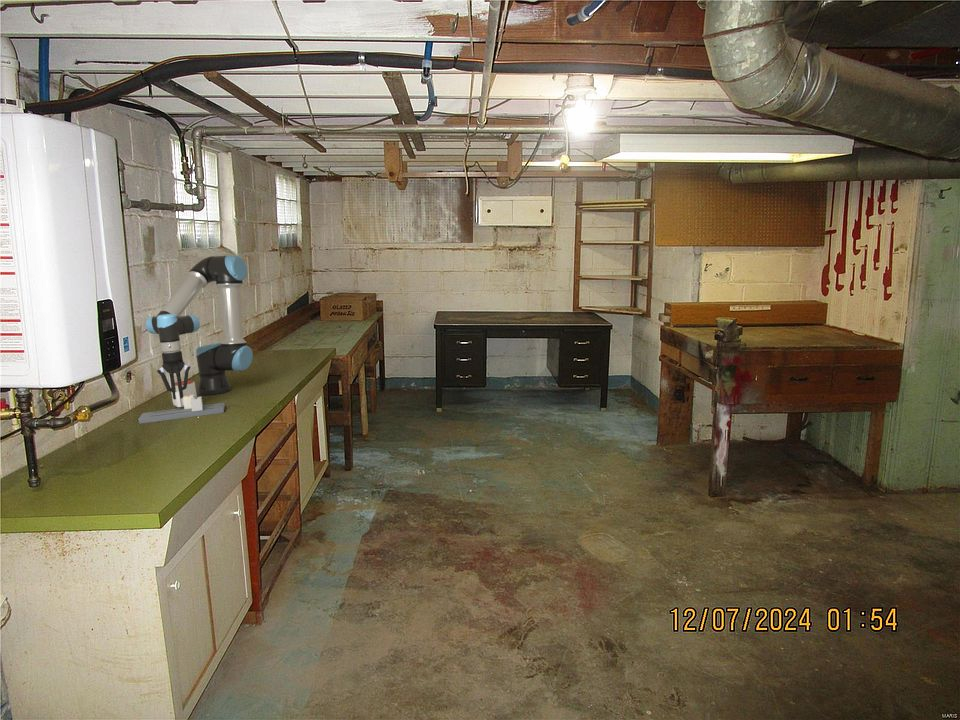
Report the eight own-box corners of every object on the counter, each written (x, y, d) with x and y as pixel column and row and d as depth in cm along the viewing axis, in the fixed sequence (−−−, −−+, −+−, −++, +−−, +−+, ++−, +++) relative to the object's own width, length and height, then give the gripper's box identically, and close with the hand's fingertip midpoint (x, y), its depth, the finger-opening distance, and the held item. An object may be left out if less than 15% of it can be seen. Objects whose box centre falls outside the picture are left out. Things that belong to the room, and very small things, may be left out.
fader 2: (192, 409, 268) (191, 397, 267) (203, 408, 269) (201, 396, 268) (192, 411, 264) (190, 399, 263) (202, 410, 265) (200, 398, 264)
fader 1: (185, 407, 272) (183, 395, 271) (195, 405, 273) (193, 394, 272) (184, 409, 268) (182, 397, 267) (194, 408, 270) (193, 396, 269)
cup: (176, 409, 279) (172, 386, 277) (171, 405, 287) (168, 383, 285) (200, 404, 285) (197, 382, 283) (194, 400, 293) (191, 379, 291)
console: (143, 417, 267) (142, 413, 267) (224, 407, 277) (224, 402, 277) (139, 423, 258) (138, 418, 258) (223, 412, 268) (223, 407, 268)
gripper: (152, 354, 260) (161, 410, 264) (187, 351, 264) (195, 406, 268) (155, 351, 267) (164, 406, 271) (189, 348, 271) (197, 402, 275)
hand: (179, 406), depth 270 cm, fingers closed
